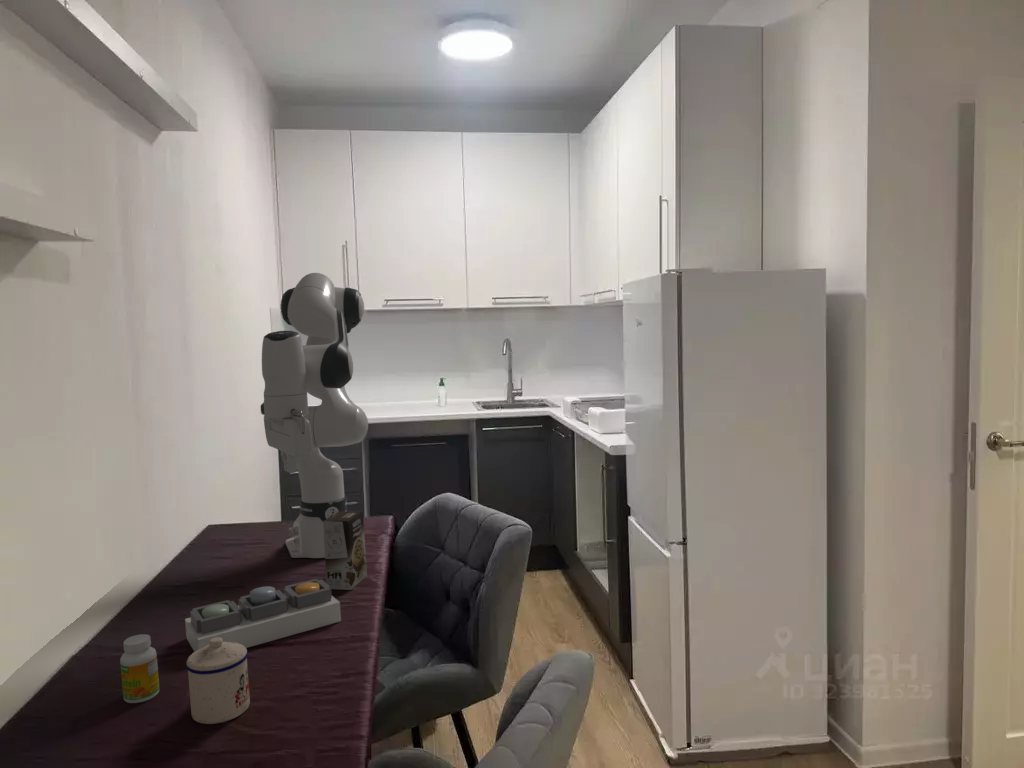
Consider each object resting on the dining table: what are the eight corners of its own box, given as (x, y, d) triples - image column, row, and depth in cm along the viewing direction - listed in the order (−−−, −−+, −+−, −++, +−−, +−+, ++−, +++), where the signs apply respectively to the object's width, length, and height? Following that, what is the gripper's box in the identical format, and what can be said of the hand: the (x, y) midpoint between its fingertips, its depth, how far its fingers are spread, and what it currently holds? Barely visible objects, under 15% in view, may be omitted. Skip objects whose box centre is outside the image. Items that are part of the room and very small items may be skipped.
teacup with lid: (250, 719, 112) (244, 646, 111) (186, 731, 109) (180, 656, 108) (254, 682, 123) (249, 616, 122) (196, 692, 121) (190, 625, 119)
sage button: (200, 618, 140) (199, 608, 139) (226, 612, 142) (225, 602, 142) (205, 626, 136) (204, 616, 136) (232, 619, 138) (231, 609, 138)
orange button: (292, 595, 150) (292, 586, 150) (315, 589, 153) (314, 580, 152) (300, 602, 146) (299, 592, 146) (323, 596, 149) (322, 587, 148)
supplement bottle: (116, 703, 118) (110, 646, 117) (137, 686, 123) (132, 631, 122) (146, 704, 117) (141, 647, 116) (166, 687, 123) (161, 632, 122)
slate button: (247, 600, 145) (246, 590, 144) (271, 594, 147) (271, 584, 147) (254, 607, 141) (253, 597, 140) (278, 601, 143) (278, 591, 143)
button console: (186, 638, 142) (184, 606, 141) (320, 603, 157) (318, 574, 156) (199, 660, 132) (197, 627, 131) (341, 621, 147) (339, 590, 147)
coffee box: (352, 590, 164) (348, 521, 162) (326, 589, 165) (321, 520, 164) (368, 576, 173) (364, 510, 171) (343, 575, 174) (339, 509, 173)
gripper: (318, 410, 147) (322, 477, 148) (286, 402, 164) (290, 463, 165) (287, 413, 143) (291, 482, 145) (257, 405, 160) (262, 467, 161)
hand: (290, 471), depth 155 cm, fingers closed
